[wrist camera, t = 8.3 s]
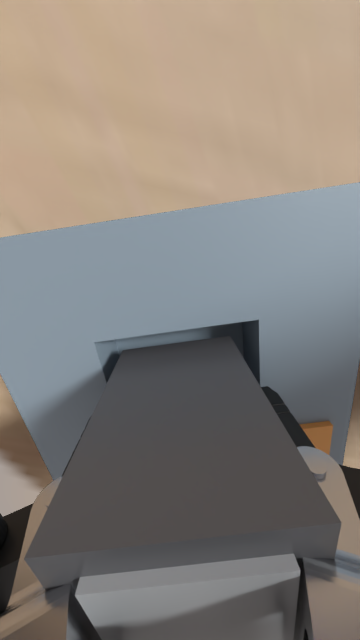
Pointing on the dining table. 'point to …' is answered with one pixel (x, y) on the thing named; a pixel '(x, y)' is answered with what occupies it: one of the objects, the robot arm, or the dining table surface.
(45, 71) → the dining table surface
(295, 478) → the plug
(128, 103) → the dining table surface
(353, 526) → the robot arm
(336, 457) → the socket plate
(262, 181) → the dining table surface
